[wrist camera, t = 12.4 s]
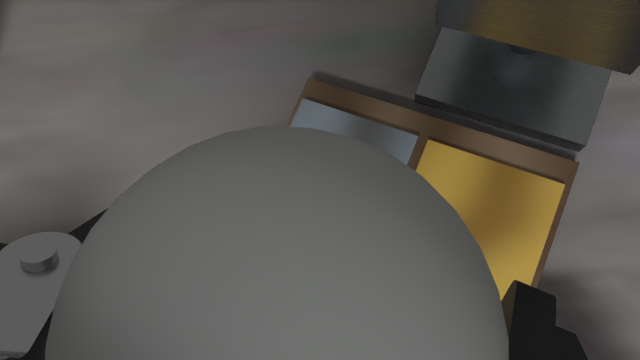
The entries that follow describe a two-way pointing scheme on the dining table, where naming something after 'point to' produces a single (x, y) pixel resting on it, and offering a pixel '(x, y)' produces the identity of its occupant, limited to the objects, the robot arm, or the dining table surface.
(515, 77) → the mounted unit
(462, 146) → the board
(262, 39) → the dining table surface
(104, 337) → the lightbulb
